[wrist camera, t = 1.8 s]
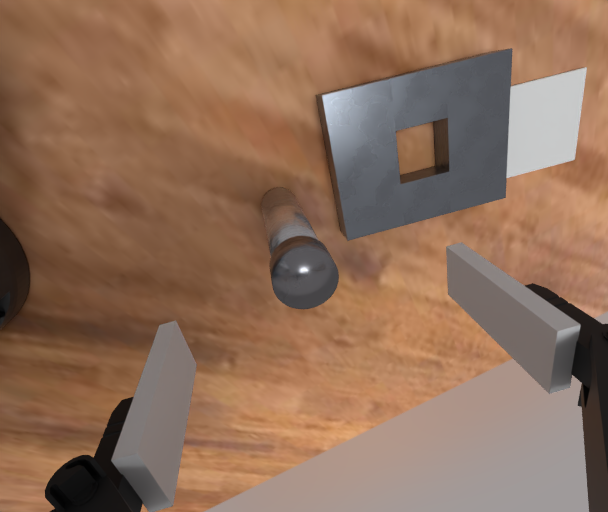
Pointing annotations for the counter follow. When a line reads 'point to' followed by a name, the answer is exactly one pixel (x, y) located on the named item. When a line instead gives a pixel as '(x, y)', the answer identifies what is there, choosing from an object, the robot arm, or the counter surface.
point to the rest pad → (544, 121)
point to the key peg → (296, 253)
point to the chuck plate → (447, 138)
